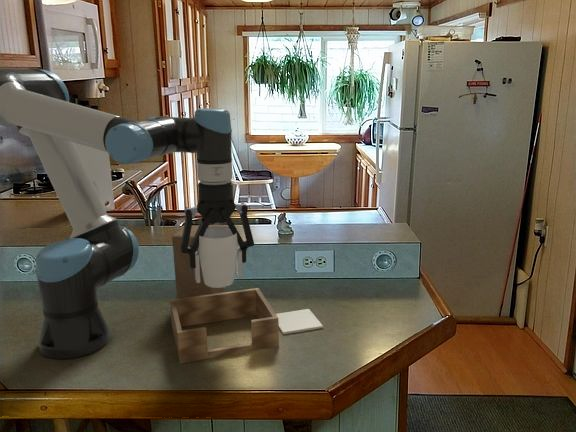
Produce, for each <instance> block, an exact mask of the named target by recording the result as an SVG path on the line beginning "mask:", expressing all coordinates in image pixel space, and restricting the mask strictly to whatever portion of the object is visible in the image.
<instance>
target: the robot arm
mask: <svg viewBox="0 0 576 432" xmlns="http://www.w3.org/2000/svg"><path fill="white" fill-rule="evenodd" d="M68 90H69V89H68V88H67V86H66V84H65V83H64V81H63V80H62V79H61V77H59V76H58V75H57V74H55V73H54V72H51V71H49V70H46V69H40V68H36V67H35V68H34V67H29V68H0V126H2V127H6V128H14V127H16V128H17V130H18V131H19V134H21V135H24V136H26V137H29V139H30V140H31V143H32V146H33V147H34V149H35V152H36V153H37V154H36V155H37V156H38V158H39V159H40V162H41V164H42V167H43V168H44V170H45V173H46V175H47V177H48V179H49V181H50V183H51V185H52V187H53V190H54V192H55V194H56V196H57V198H58V200H59V202H60V205H61V206H62V209H63V211H64V212H65V215H66V217H67V219H68V221H69V223H70V226H71V227H72V233H71V235H70V237H69V238H65V239H63V240H58V241H54V242H52V243H50V244H47V245H46V246H44V247H43V248H41V250H39V251H38V253H37V254H36V256H35V257H36V258H35V266H36V268H35V274H36V279H37V284H38V289H39V296H40V303H41V307H42V317H43V318H42V322H41V326H40V332H39V336H38V348H39V352H40V354H41V355H43V356H45V357H46V358H49V359H56V360H65V359H67V360H68V359H74V358H80V357H83V356H87V355H89V354H93V353H94V352H96V351H98V350H100V349H102V348H103V347H104V346H106V344H108V342H109V341H110V338H111V336H110V334H111V333H110V327H109V325H108V323H107V320H106V319H105V317H104V315H103V312H102V311H101V309H100V307H99V301H98V300H99V299H98V292H97V290H98V289H99V288H101V287H102V286H105V285H106V284H108V283H110V282H112V281H114V280H115V279H117V278H120V277H123V275H125V274H126V273H127V272H129V271H130V270H131V269H132V268H134V266H135V265H136V264H137V260H138V258H139V254H140V248H139V243H138V239H137V238H136V236H135V235H134V233H133V232H132V231H131V230H129V229H128V228H127V227H124V226H120V224H119V221H118V219H117V218H116V217H113V216H110V215H109V214H108V213H107V211H105V209H104V206H103V204H102V202H101V200H100V198H99V196H98V194H97V191H96V189H95V187H94V185H93V183H92V181H91V179H90V176H89V174H88V172H87V170H86V168H85V166H84V163H83V161H82V159H81V157H80V155H79V153H78V151H77V148H76V146H75V144H74V142H75V143H78V144H82V145H85V146H88V147H92V148H95V149H98V150H102V151H105V152H108V154H109V157H111V158H112V159H113V160H114V161H115V162H116V163H119V164H124V165H126V164H127V165H128V164H137V163H141V162H143V161H146V160H150V159H153V158H156V157H161V156H165V155H169V154H173V153H187V154H189V153H190V154H196V155H195V156H196V172H197V173H196V175H197V180H198V181H199V182H198V183H197V191H198V203H197V205H196V206H192V207H189V206H186V207H184V215H185V218H184V219H185V220H184V225H183V228H184V230H183V235H182V241H181V246H180V248H181V251H182V253H187V254H189V261H190V266H191V268H195V279H196V282H197V283H200V266H199V254H198V252H197V249H198V247H199V236H201V237H203V236H204V234H205V231H206V229H207V228H208V227H210V225H216V224H225V223H226V225H227V226H228V227H229V228H230V230H231V232H232V234H233V235H234V234H236V233H237V241H238V249H237V257H236V275H237V277H238V278H239V279H243V263H244V264H245V263H247V251H248V249H249V248H250V247H254V246H255V242H254V238H253V237H254V236H253V233H252V230H251V226H250V222H249V218H248V217H249V216H248V209H249V207H248V205H247V204H246V203H244V202H241V203H235V201H234V187H233V185H234V184H233V182H232V179H233V178H234V177H233V157H232V156H233V155H232V153H233V152H232V150H233V149H232V132H233V128H232V123H231V122H232V121H231V112H230V111H229V110H228V109H225V108H219V107H218V108H217V107H213V108H212V107H211V108H210V107H209V108H205V107H204V108H197V109H195V111H194V116H193V117H180V116H179V117H177V116H176V117H173V116H167V115H162V116H151V117H149V118H147V119H146V120H141V121H140V120H138V121H137V120H134V119H129V118H126V117H122V116H119V115H116V114H112V113H109V112H106V111H103V110H102V111H101V110H98V109H94V108H90V107H87V106H83V105H81V104H77V103H73V102H70V95H69V94H70V93H69V91H68ZM235 210H236V212H237V213H238V214H239V217H240V221H241V224H242V228H243V229H242V230H243V232H244V237H245V240H244V239H243V238H242V236H241V235H240V232H239V230H238V229H237V228H236V226H235V223H234V222H233V220H232V219H231V216H232V214H233V213H234V212H235ZM197 213H199V215H200V216H201V219H200V222H199V225H198V226H199V227H198V229H197V232H196V234H195V236H194V238H193V240H192V243H191V245H190V247H188V243H189V238H190V233H191V227H192V226H193V219H194V218H195V217H196V214H197Z"/></svg>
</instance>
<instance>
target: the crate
mask: <svg viewBox="0 0 576 432" xmlns="http://www.w3.org/2000/svg"><path fill="white" fill-rule="evenodd" d="M169 303H170V305H169V306H170V316H171V319H170V320H171V328H172V333H173V336H174V340H175V346H176V351H177V355H178V360H179V364H183V363H189V362H190V363H191V362H195V361H200V360H201V361H202V360H206V359H213V358H219V357H223V356H224V357H225V356H231V355H235V354H236V355H238V354H242V353H248V352H253V351H260V350H266V349H272V348H277V347H280V335H279V334H280V333H279V332H280V329H279V321H278V317H277V315H276V314H277V313H276V312H275V311H274V309H273V307H272V306H271V305H270V303H269V302H268V300H267V298H266V297H265V295H264V294H263V293H262V291H261V289H260V288H259V287H255V288H249V289H247V288H246V289H239V290H233V291H224V293H216V294H209V295H201V296H194V297H187V298H179V299H177V298H173V299H169ZM254 316H256V319H251V320H250V325H251V326H250V329H251V342H247V343H241V344H235V345H229V346H223V347H218V348H216V347H215V348H211V349H208V335H207V334H208V333H207V327H206V326H204V327H196V328H190V329H184V330H183V328H182V327H188V326H194V325H201V324H208V323H212V322H220V321H228V320H234V319H240V318H242V319H243V318H247V317H254Z"/></svg>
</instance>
